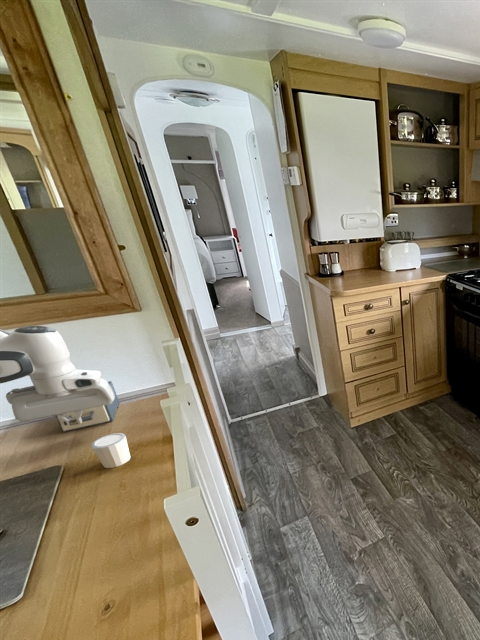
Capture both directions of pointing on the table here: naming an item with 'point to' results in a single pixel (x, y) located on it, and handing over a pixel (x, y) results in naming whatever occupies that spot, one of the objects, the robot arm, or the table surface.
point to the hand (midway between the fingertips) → (75, 423)
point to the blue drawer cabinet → (109, 408)
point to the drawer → (87, 417)
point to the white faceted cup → (112, 450)
